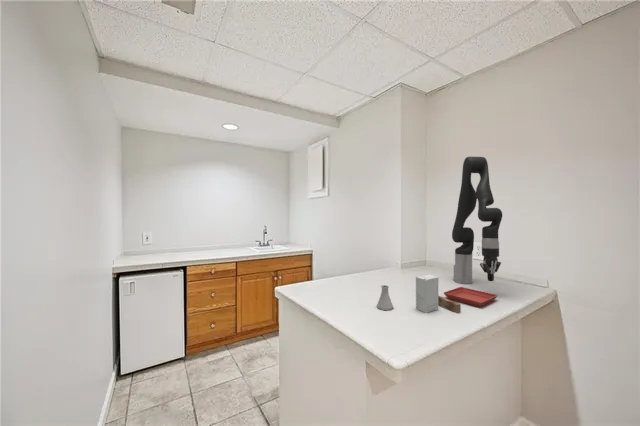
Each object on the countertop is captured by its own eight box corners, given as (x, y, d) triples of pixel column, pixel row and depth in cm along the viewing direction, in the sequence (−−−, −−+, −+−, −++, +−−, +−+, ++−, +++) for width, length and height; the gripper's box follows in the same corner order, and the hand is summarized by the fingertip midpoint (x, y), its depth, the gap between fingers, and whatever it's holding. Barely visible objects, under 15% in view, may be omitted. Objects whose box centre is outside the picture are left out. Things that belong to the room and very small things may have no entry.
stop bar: (422, 298, 134) (422, 291, 134) (426, 298, 135) (426, 290, 135) (456, 313, 116) (456, 304, 116) (460, 312, 117) (460, 303, 117)
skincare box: (428, 305, 124) (428, 273, 124) (439, 310, 119) (439, 276, 119) (415, 308, 121) (414, 275, 121) (425, 313, 115) (425, 279, 115)
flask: (384, 312, 118) (384, 289, 117) (373, 306, 124) (373, 285, 124) (396, 309, 121) (396, 287, 121) (385, 304, 127) (385, 283, 127)
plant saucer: (460, 292, 145) (460, 286, 145) (498, 301, 131) (498, 294, 131) (442, 299, 134) (442, 292, 134) (481, 310, 120) (481, 302, 120)
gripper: (492, 245, 143) (492, 278, 143) (474, 246, 138) (474, 280, 138) (506, 247, 136) (506, 281, 136) (488, 248, 131) (488, 284, 131)
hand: (490, 280), depth 137 cm, fingers closed
